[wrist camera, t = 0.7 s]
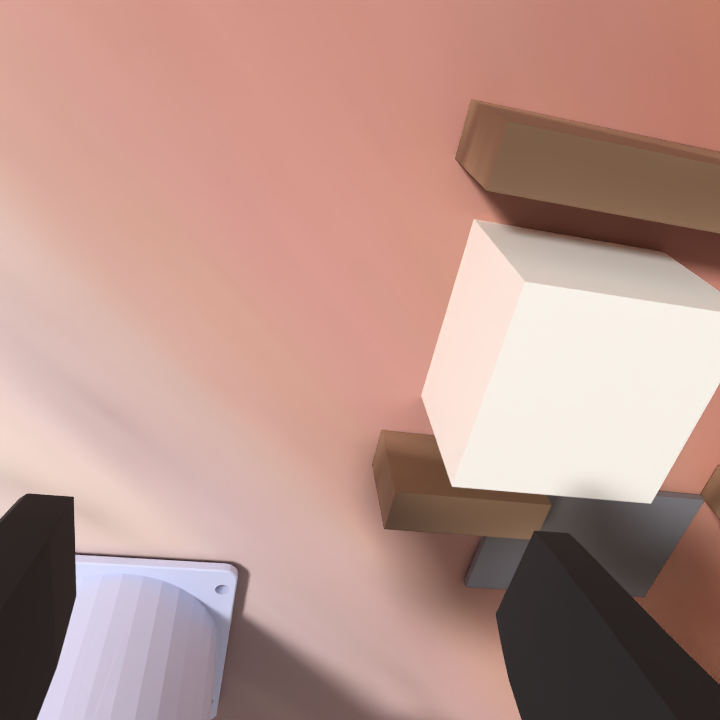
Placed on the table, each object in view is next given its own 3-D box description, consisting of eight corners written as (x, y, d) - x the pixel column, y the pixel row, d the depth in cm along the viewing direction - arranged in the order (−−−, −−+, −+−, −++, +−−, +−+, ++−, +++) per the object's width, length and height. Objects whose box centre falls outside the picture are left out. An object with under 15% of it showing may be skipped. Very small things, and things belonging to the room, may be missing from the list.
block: (586, 411, 22) (650, 503, 18) (420, 393, 21) (451, 486, 17) (660, 250, 19) (757, 317, 15) (472, 217, 18) (525, 281, 14)
